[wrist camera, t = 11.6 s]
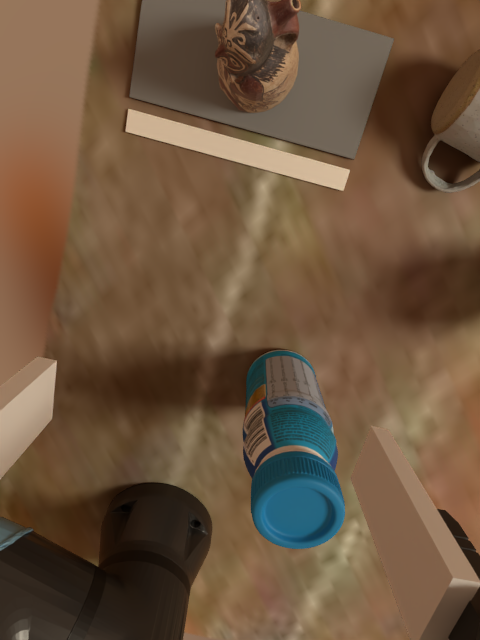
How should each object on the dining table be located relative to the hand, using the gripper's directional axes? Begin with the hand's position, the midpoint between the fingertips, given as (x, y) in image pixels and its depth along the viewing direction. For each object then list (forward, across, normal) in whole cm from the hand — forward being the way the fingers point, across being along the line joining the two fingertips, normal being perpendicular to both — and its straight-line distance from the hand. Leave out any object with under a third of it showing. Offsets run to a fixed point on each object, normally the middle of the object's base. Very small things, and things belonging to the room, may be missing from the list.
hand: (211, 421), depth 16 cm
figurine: (+26, +2, -20) cm, 33 cm away
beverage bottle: (+28, -8, +11) cm, 31 cm away
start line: (+27, +2, -13) cm, 30 cm away
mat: (+27, +2, -20) cm, 33 cm away
